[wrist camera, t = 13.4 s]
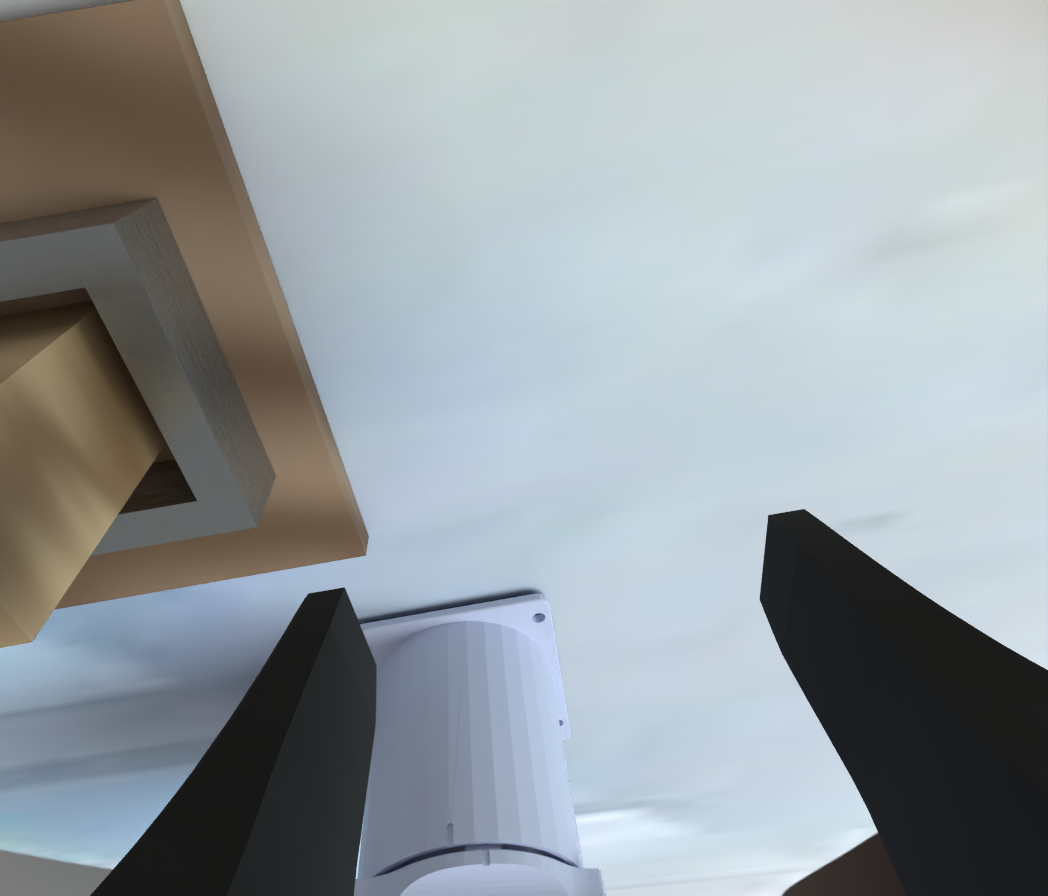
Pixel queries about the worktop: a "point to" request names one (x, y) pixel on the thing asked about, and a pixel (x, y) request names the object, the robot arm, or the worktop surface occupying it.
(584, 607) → the worktop surface
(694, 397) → the worktop surface
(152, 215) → the socket board
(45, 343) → the peg
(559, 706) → the robot arm
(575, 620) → the worktop surface
